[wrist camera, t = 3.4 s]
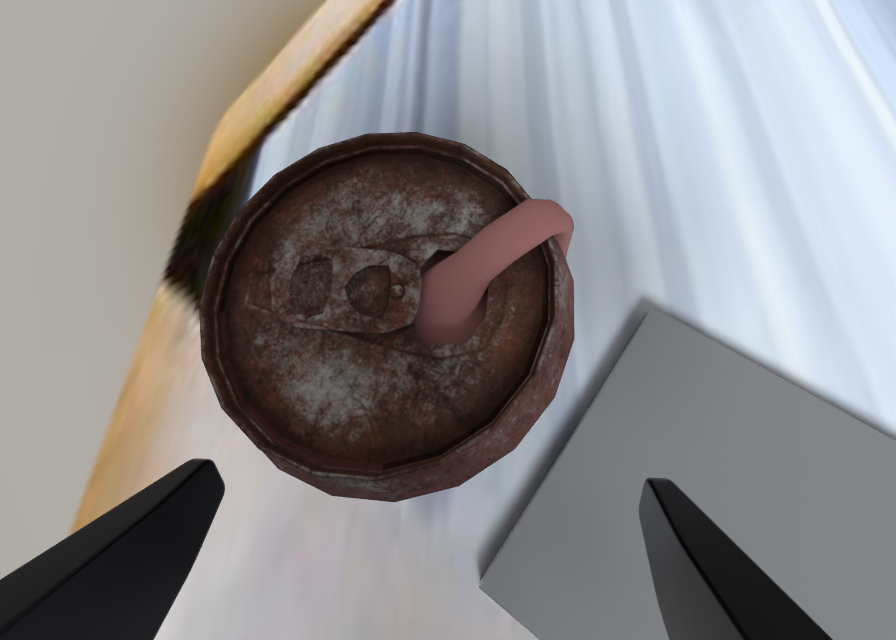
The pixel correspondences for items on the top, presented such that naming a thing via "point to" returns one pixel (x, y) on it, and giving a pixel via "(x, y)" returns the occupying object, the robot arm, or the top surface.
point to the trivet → (705, 496)
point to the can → (389, 315)
